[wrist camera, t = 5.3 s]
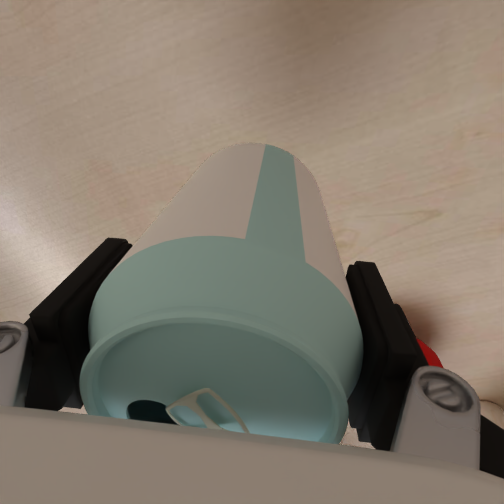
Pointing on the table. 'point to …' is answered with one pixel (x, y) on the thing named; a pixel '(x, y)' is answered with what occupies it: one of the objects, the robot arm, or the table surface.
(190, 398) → the can
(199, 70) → the table surface
